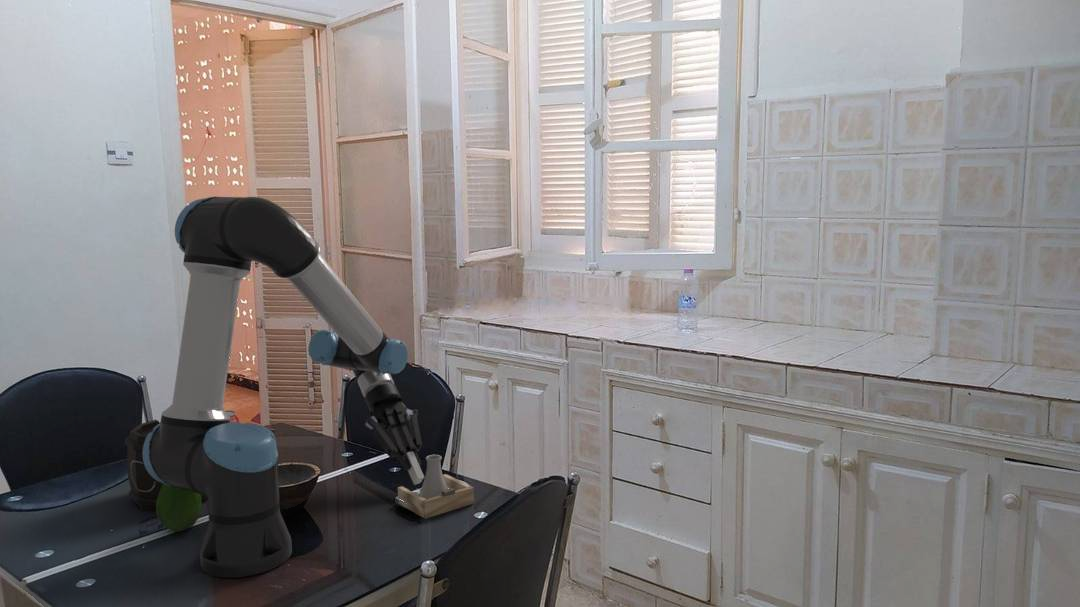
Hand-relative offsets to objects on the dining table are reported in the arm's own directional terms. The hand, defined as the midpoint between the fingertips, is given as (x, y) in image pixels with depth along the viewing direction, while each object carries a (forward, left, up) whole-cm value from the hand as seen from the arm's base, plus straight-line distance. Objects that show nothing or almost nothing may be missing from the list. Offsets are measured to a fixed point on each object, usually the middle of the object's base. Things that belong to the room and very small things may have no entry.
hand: (419, 480), depth 163 cm
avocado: (-9, +46, -3) cm, 47 cm away
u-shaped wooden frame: (-5, -3, -3) cm, 7 cm away
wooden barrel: (+9, +51, -3) cm, 52 cm away
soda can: (+31, +46, -3) cm, 56 cm away
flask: (-5, -3, -3) cm, 7 cm away
